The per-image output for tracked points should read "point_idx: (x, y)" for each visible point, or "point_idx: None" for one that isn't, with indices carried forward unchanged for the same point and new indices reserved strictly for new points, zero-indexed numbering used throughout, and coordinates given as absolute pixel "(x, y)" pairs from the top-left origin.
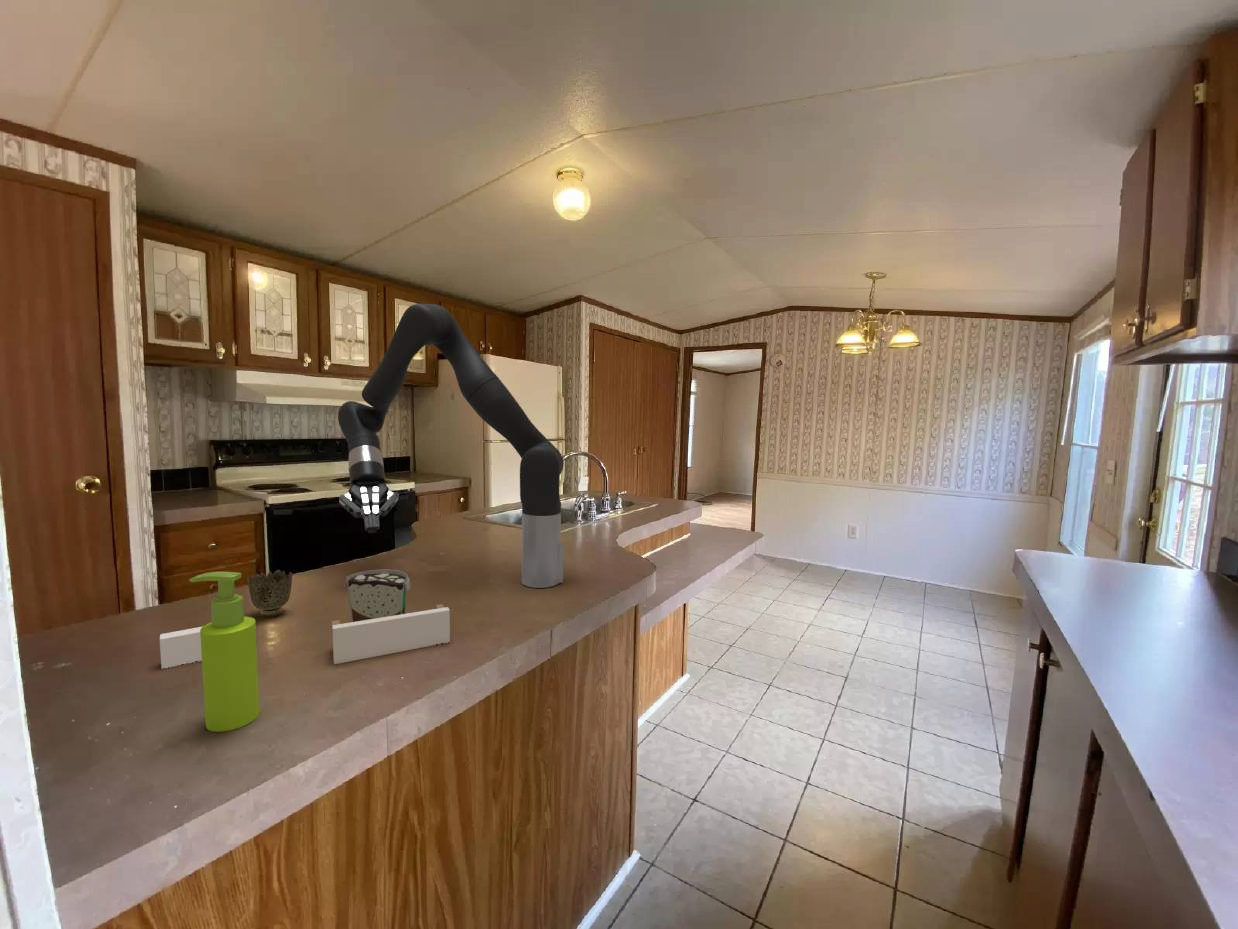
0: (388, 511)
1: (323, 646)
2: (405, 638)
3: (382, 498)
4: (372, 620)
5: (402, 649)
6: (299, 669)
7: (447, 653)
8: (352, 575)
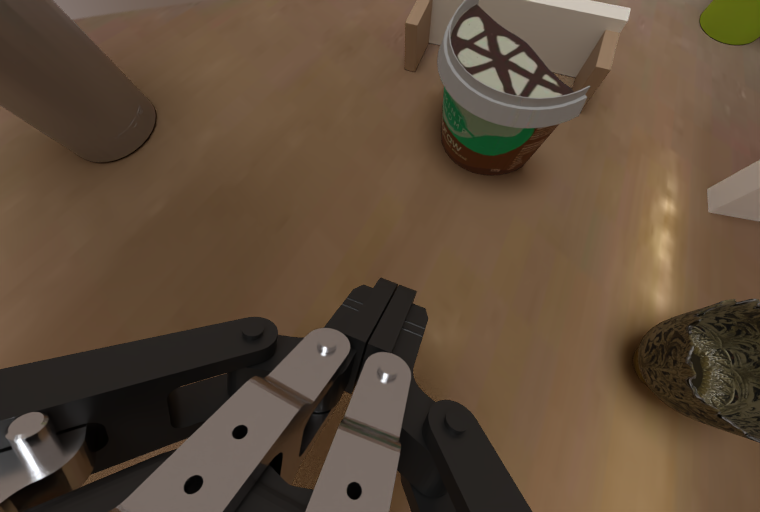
0: (201, 386)
1: (588, 133)
2: None
3: (132, 468)
4: (558, 1)
5: None
6: (638, 86)
7: None
8: (568, 95)
